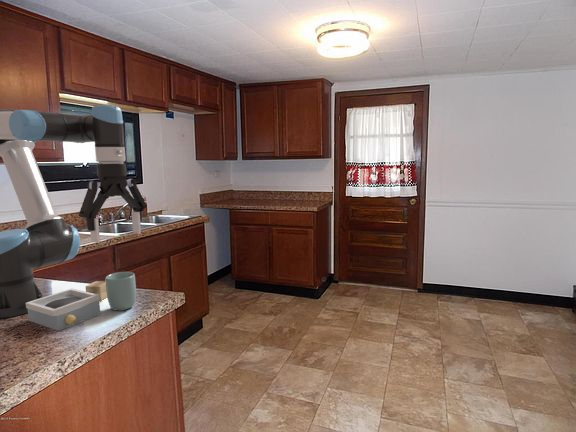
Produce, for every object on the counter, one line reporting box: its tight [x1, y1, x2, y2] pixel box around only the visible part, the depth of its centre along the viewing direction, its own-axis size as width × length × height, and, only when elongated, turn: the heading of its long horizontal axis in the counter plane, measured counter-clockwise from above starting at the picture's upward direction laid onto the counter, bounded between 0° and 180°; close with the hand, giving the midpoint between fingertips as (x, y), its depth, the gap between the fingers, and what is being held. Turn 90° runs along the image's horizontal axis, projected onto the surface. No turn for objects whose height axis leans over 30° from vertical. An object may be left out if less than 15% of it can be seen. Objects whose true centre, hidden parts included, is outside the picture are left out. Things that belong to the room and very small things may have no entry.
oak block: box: [85, 280, 108, 302], centre depth 123 cm, size 5×5×5 cm
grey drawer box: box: [26, 288, 101, 331], centre depth 108 cm, size 15×13×6 cm
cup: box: [104, 271, 137, 311], centre depth 114 cm, size 8×8×10 cm
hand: (117, 237), depth 111 cm, fingers open, 13 cm apart
